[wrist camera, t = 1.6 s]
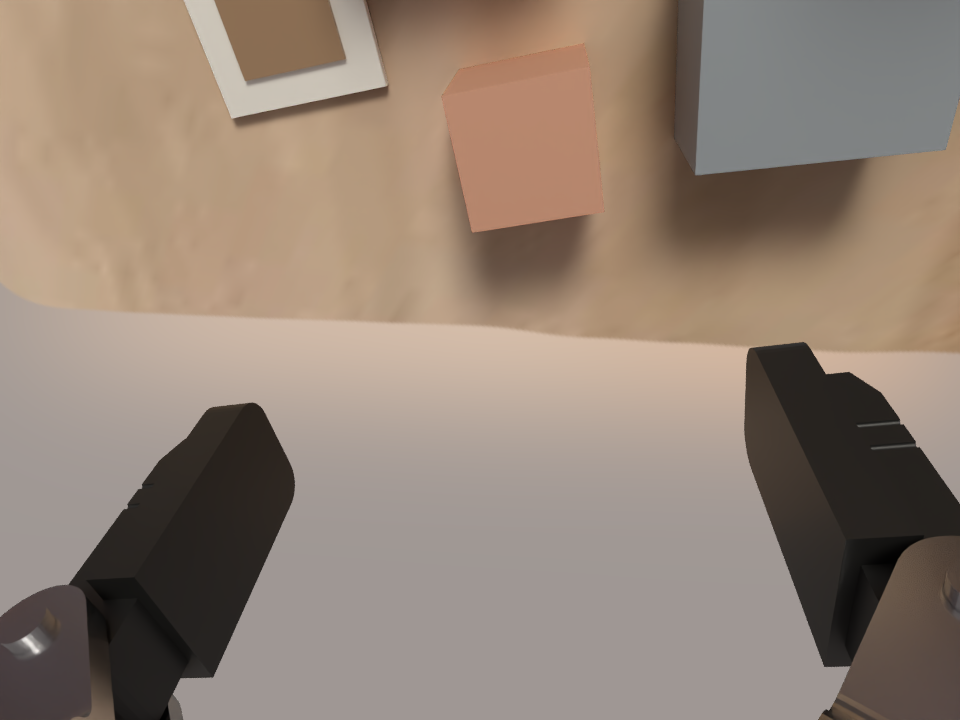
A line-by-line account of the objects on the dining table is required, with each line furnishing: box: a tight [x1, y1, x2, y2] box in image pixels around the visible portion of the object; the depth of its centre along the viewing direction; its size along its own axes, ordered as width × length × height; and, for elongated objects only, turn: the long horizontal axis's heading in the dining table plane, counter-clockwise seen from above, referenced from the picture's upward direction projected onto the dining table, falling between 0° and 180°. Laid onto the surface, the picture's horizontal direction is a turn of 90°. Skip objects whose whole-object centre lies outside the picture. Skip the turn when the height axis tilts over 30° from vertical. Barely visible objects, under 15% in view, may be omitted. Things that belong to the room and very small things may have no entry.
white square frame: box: [184, 0, 388, 118], centre depth 25 cm, size 7×7×1 cm
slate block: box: [674, 0, 960, 175], centre depth 21 cm, size 8×8×5 cm
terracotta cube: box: [441, 43, 604, 233], centre depth 24 cm, size 5×5×5 cm
